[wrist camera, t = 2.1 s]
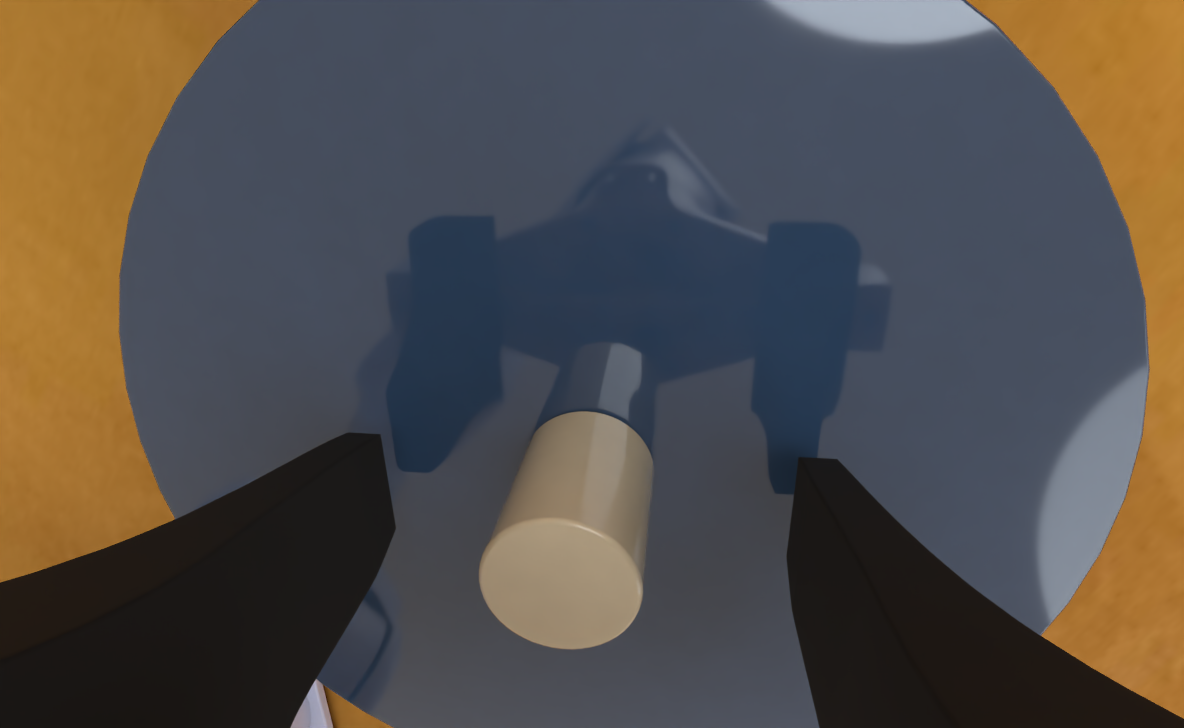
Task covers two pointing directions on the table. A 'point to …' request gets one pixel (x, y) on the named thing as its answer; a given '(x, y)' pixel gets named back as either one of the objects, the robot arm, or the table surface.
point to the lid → (635, 326)
